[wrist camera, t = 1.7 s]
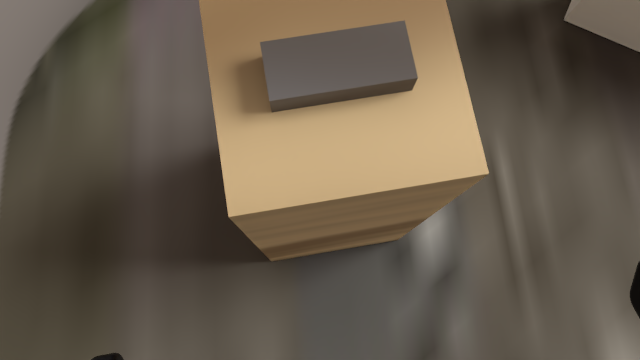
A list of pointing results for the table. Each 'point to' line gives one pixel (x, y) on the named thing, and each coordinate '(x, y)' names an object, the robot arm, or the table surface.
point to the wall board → (608, 19)
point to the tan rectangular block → (338, 119)
